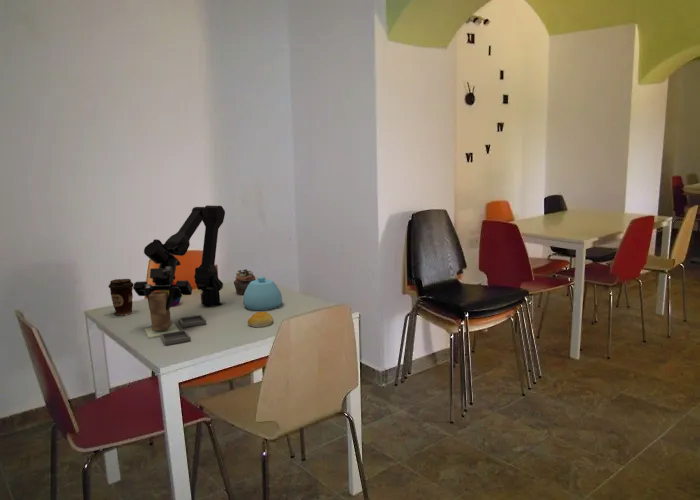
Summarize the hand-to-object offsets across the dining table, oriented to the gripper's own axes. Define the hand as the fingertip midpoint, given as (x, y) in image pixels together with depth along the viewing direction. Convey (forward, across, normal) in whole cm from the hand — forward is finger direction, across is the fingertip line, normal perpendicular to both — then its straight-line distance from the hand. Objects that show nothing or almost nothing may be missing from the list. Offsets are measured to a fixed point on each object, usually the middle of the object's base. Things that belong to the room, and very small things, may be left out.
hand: (158, 310), depth 188 cm
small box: (-35, +1, +47) cm, 59 cm away
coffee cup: (-11, -23, +23) cm, 34 cm away
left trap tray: (+11, +8, 0) cm, 13 cm away
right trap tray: (-1, +8, +12) cm, 15 cm away
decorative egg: (-19, -8, +31) cm, 37 cm away
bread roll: (0, +32, +12) cm, 34 cm away
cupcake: (-30, +19, +42) cm, 54 cm away
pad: (+5, 0, +7) cm, 8 cm away
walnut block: (+4, 0, +6) cm, 7 cm away
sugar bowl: (-15, +29, +27) cm, 43 cm away
